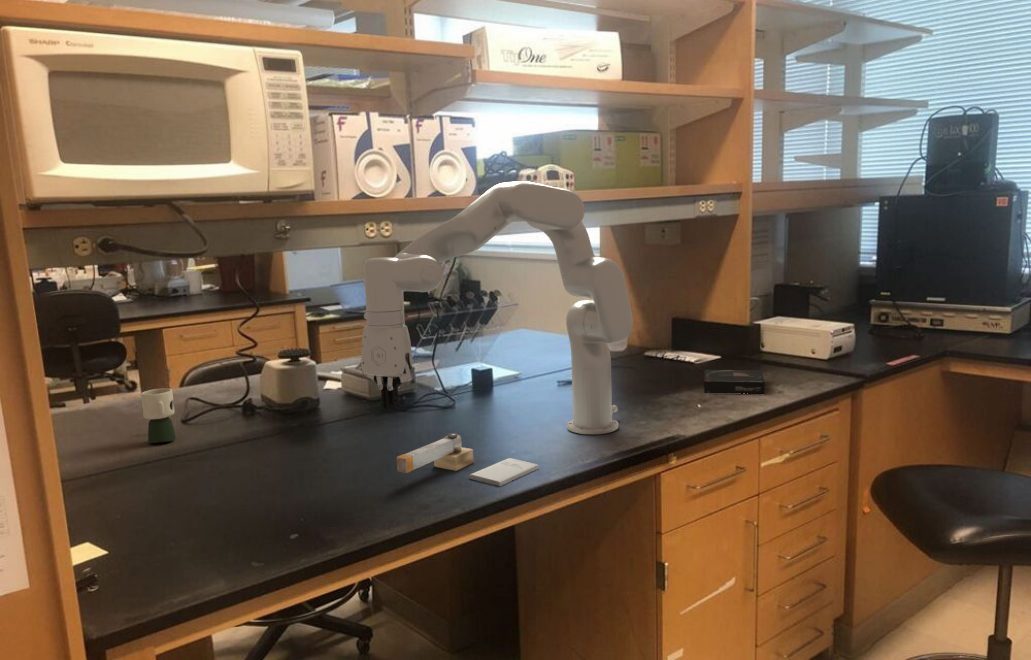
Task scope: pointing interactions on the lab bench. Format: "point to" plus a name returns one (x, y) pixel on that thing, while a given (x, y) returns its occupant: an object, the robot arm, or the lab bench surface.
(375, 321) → the robot arm
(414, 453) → the latch arm
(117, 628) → the lab bench surface
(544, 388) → the lab bench surface
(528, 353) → the lab bench surface
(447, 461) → the block
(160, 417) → the character mug
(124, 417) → the lab bench surface
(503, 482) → the external hard drive
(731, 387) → the portable cd player
